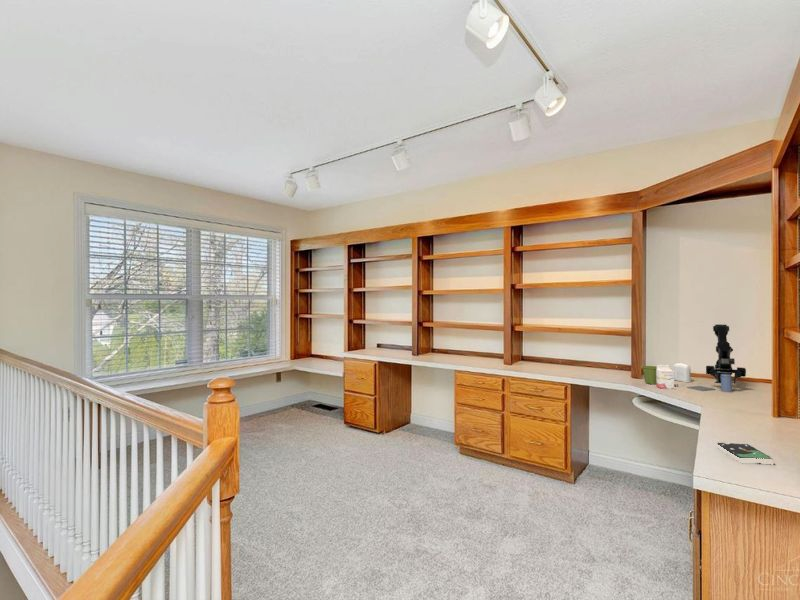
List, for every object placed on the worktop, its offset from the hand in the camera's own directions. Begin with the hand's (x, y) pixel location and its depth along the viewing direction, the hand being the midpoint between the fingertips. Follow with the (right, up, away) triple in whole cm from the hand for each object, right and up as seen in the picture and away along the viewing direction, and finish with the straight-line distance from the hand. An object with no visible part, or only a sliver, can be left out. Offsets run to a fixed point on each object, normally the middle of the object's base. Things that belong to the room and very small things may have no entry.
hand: (726, 382), depth 237 cm
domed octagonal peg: (+1, -6, +1) cm, 6 cm away
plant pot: (-23, -8, +34) cm, 42 cm away
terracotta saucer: (+1, -7, +1) cm, 7 cm away
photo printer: (0, -7, +38) cm, 38 cm away
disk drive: (-69, -8, -92) cm, 116 cm away
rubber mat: (-8, -7, +10) cm, 14 cm away
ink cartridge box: (-24, -8, +19) cm, 31 cm away
